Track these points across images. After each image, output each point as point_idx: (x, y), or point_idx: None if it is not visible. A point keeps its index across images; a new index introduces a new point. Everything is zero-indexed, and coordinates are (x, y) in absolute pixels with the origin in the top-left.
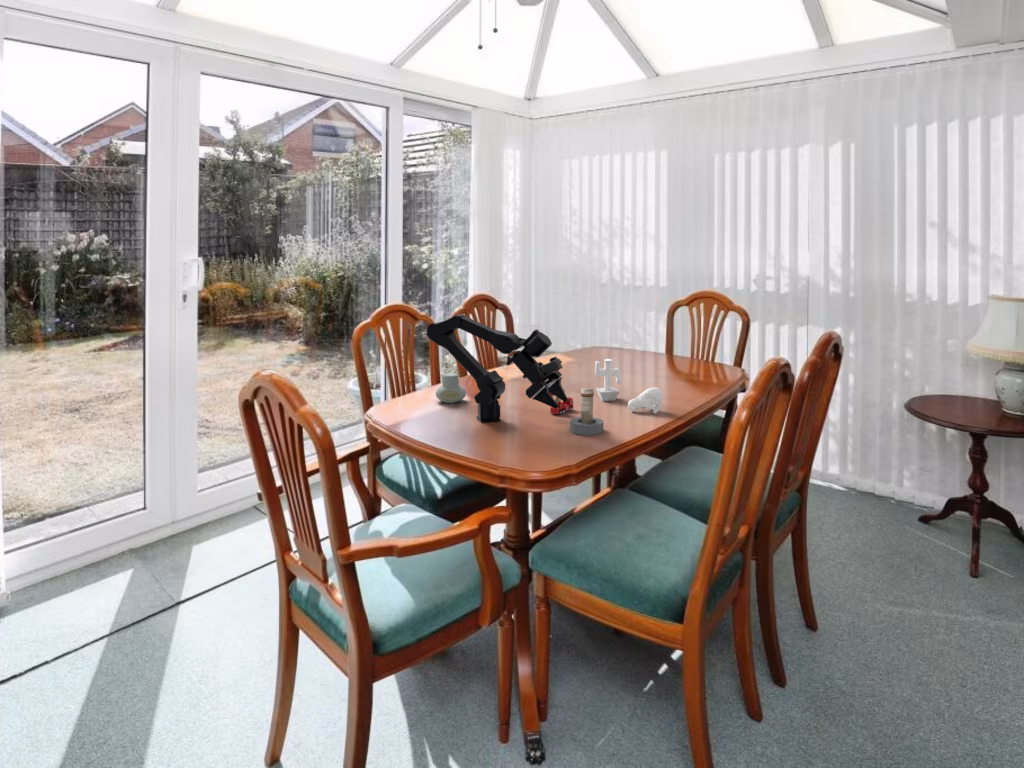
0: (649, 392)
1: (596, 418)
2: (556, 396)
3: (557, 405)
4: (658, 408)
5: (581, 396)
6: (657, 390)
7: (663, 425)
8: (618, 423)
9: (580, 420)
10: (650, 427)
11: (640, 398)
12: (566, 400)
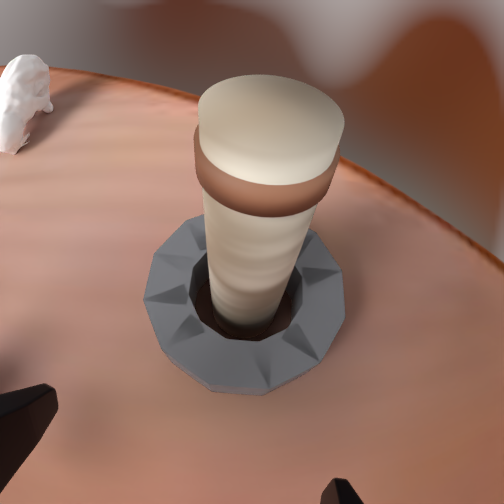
0: (22, 71)
1: (186, 235)
2: (9, 479)
3: (349, 486)
4: (48, 95)
5: (280, 217)
6: (29, 56)
7: (166, 92)
8: (126, 181)
9: (202, 325)
10: (185, 111)
11: (15, 101)
12: (54, 397)
